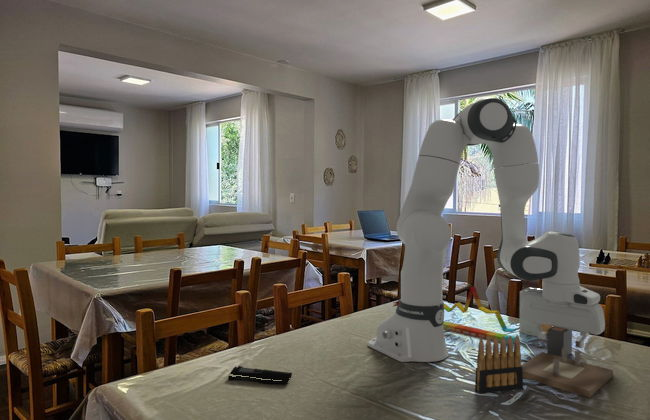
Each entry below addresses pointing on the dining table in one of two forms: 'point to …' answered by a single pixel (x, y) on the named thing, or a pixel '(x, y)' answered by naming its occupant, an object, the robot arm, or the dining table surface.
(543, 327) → the small box
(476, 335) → the chart
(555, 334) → the plug block
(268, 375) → the electric trimmer
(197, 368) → the dining table surface
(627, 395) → the dining table surface
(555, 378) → the board
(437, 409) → the dining table surface
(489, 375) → the ammunition clip
